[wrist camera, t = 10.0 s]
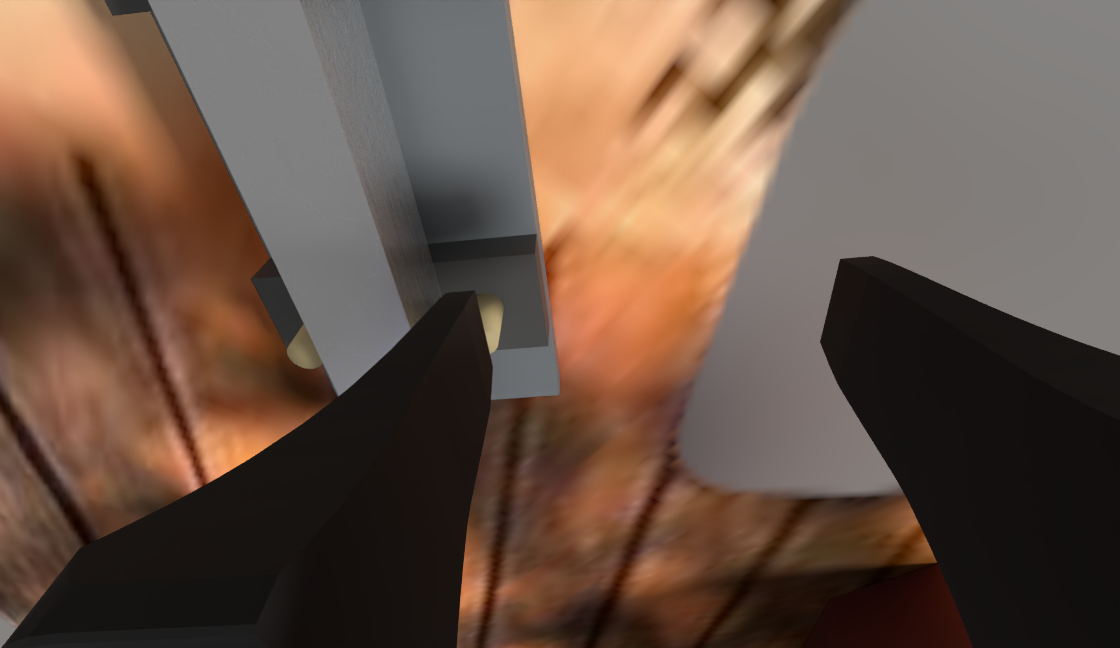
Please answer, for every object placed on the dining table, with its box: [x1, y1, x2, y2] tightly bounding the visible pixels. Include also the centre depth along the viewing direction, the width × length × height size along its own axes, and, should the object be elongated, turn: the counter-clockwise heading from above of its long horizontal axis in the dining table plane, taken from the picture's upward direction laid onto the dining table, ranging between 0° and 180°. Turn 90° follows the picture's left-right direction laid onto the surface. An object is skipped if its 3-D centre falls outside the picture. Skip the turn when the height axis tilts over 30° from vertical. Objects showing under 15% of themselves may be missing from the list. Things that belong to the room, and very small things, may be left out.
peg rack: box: [105, 0, 560, 400], centre depth 16 cm, size 24×10×5 cm, turn 6°
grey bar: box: [148, 0, 442, 396], centre depth 14 cm, size 24×4×4 cm, turn 6°
